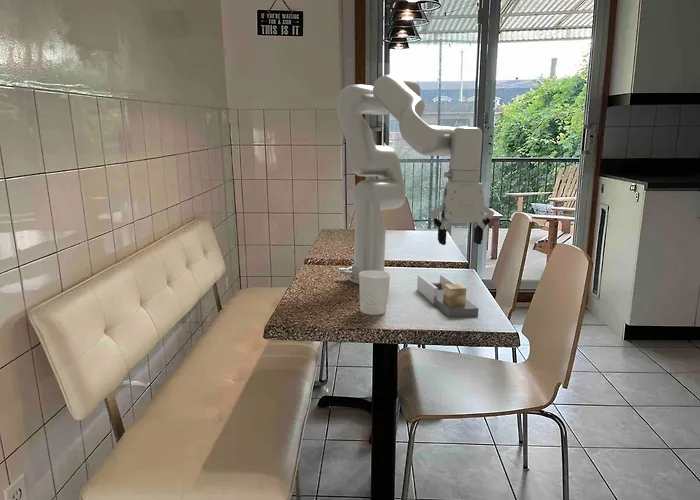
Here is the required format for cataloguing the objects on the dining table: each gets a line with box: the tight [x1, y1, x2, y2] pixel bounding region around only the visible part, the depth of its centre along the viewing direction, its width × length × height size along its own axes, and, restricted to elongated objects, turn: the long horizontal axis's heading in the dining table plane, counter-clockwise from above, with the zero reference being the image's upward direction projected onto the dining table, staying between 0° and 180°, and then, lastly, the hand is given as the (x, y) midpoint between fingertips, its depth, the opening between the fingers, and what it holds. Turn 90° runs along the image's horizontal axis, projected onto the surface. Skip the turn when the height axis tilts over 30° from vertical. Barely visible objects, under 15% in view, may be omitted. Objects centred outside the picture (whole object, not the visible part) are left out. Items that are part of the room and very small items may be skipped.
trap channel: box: [416, 274, 479, 318], centre depth 149 cm, size 8×25×4 cm, turn 12°
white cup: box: [358, 270, 391, 316], centre depth 138 cm, size 8×8×10 cm
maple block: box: [443, 283, 467, 305], centre depth 141 cm, size 4×4×4 cm
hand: (459, 243), depth 139 cm, fingers open, 9 cm apart
